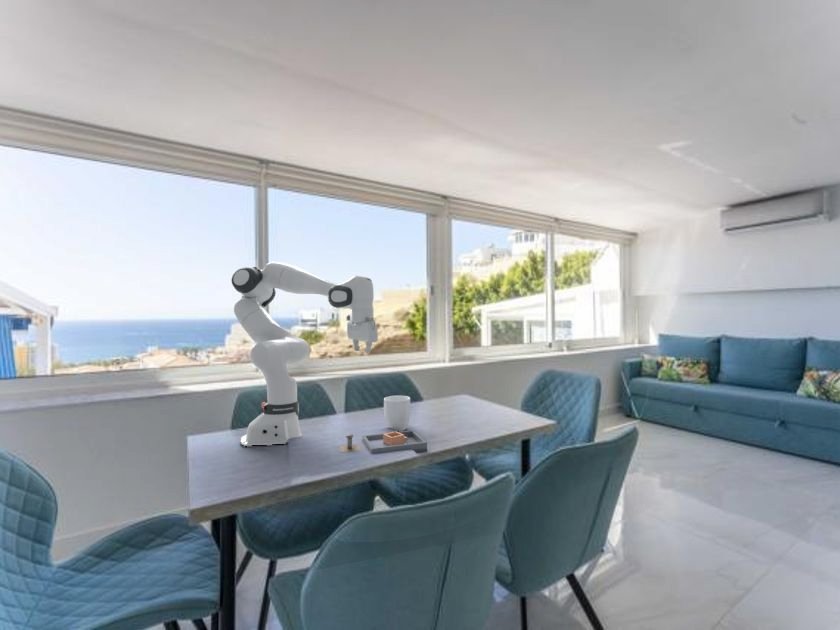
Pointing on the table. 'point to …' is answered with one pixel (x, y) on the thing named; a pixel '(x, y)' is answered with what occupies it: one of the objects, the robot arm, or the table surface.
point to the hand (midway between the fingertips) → (362, 352)
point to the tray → (412, 443)
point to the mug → (397, 412)
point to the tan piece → (394, 438)
